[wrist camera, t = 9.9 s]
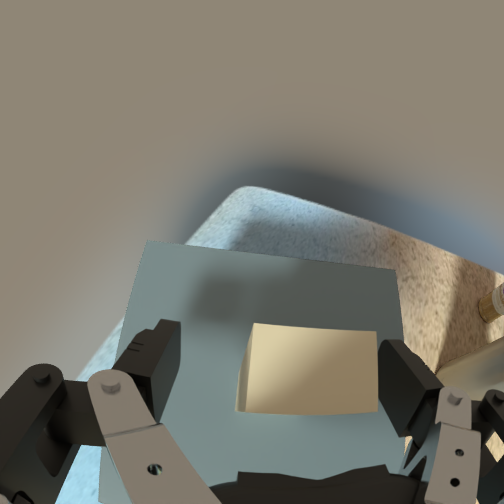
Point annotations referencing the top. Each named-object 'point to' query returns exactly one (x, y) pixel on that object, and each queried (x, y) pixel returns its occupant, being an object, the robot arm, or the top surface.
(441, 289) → the top surface
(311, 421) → the carton lid
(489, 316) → the sprinkles bottle
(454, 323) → the top surface
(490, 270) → the top surface
